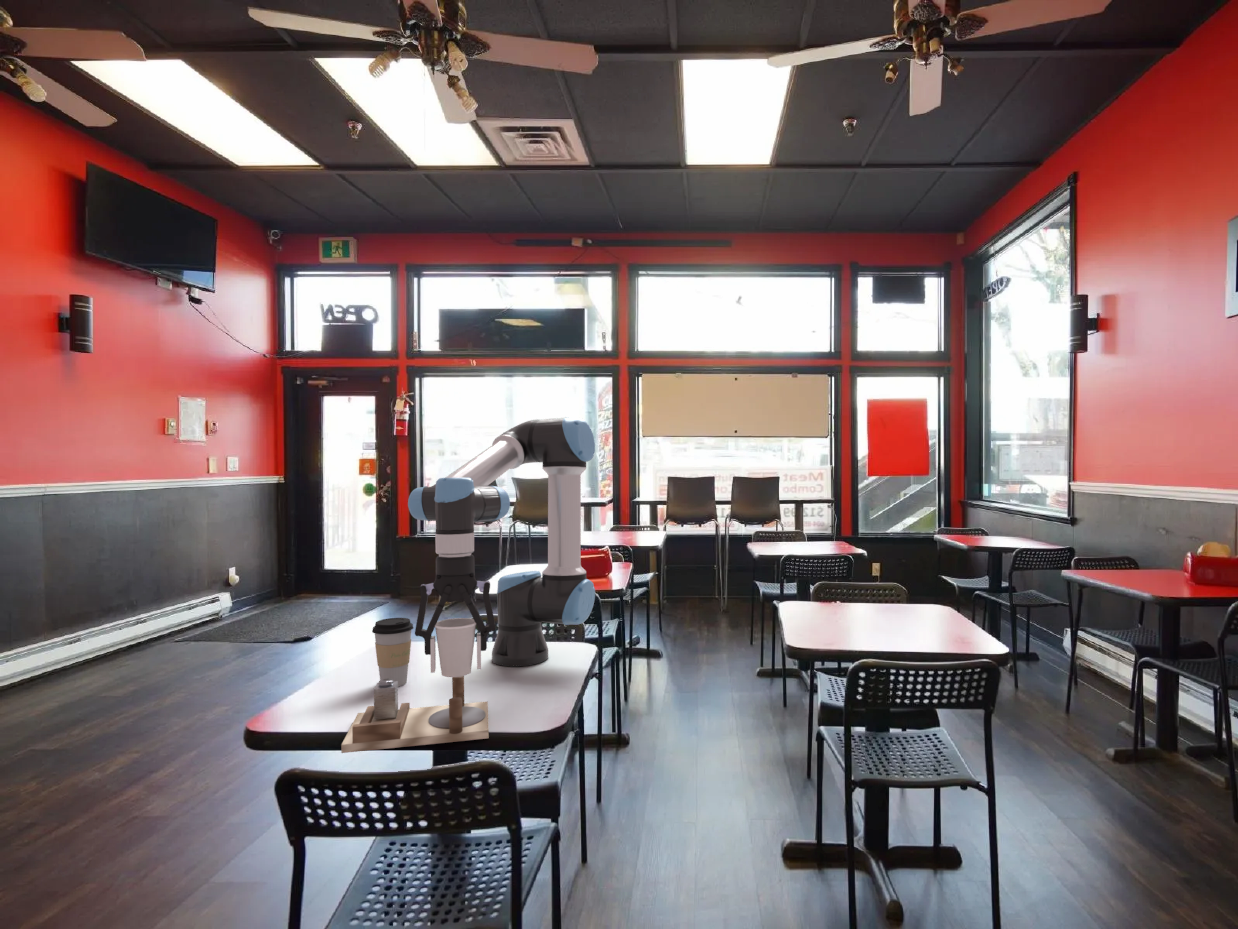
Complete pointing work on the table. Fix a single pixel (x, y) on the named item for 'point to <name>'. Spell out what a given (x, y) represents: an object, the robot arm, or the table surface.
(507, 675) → the table surface
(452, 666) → the dixie cup
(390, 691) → the grey square bottle
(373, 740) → the board
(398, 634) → the coffee cup
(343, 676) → the table surface
